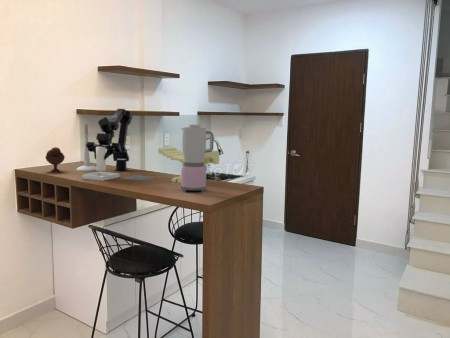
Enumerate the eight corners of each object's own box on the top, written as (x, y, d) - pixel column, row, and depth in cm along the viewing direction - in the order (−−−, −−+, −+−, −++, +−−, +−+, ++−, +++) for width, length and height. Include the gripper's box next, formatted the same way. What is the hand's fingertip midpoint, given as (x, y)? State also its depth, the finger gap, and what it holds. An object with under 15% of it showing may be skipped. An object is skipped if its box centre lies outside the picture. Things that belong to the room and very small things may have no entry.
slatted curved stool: (218, 181, 207) (219, 150, 205) (203, 186, 193) (204, 152, 191) (175, 176, 221) (175, 146, 219) (158, 179, 208) (158, 148, 205)
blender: (181, 193, 174) (182, 124, 169) (179, 188, 186) (180, 124, 181) (214, 192, 177) (216, 125, 173) (210, 187, 189) (211, 125, 184)
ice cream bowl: (68, 170, 232) (67, 146, 230) (58, 173, 221) (58, 148, 219) (52, 169, 233) (51, 146, 231) (42, 172, 222) (41, 147, 220)
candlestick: (77, 171, 229) (76, 123, 225) (75, 168, 240) (73, 122, 236) (99, 170, 235) (98, 123, 231) (95, 167, 246) (94, 122, 242)
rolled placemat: (104, 169, 209) (104, 146, 207) (106, 170, 205) (106, 147, 203) (95, 169, 207) (94, 146, 205) (97, 171, 202) (97, 147, 201)
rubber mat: (136, 175, 219) (136, 175, 219) (156, 177, 214) (157, 177, 214) (121, 179, 206) (121, 178, 206) (143, 181, 201) (143, 180, 201)
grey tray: (99, 175, 215) (99, 171, 215) (119, 177, 210) (119, 173, 210) (82, 179, 203) (82, 174, 202) (102, 181, 197) (102, 177, 197)
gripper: (86, 127, 207) (78, 148, 198) (119, 128, 206) (112, 150, 197) (93, 140, 216) (85, 161, 207) (124, 141, 215) (117, 162, 205)
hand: (99, 158), depth 204 cm, fingers closed on rolled placemat, 5 cm apart
